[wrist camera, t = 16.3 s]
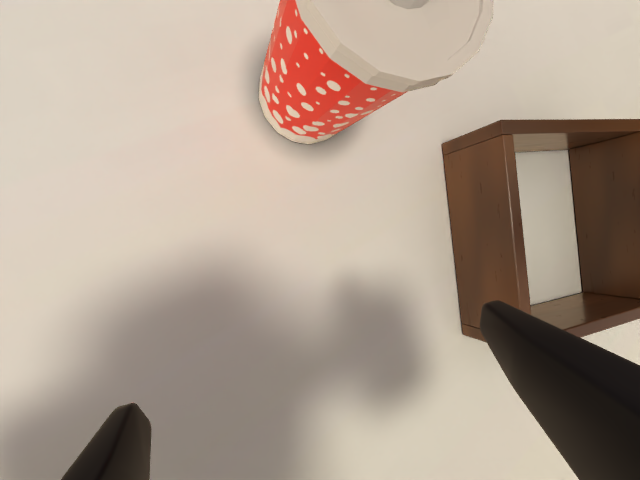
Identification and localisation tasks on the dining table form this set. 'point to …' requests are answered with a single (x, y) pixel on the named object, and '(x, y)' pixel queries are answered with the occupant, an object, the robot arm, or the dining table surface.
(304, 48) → the beverage cup
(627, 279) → the crate
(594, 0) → the dining table surface
